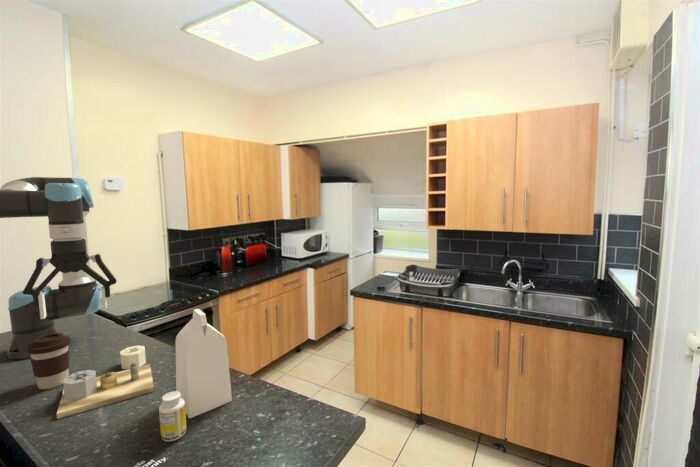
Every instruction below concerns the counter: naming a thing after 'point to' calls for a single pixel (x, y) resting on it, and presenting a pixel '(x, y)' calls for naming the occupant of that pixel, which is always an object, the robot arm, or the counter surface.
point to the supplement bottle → (172, 416)
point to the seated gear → (80, 385)
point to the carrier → (111, 390)
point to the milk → (202, 366)
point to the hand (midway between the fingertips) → (75, 312)
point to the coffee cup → (50, 359)
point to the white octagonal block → (133, 356)
